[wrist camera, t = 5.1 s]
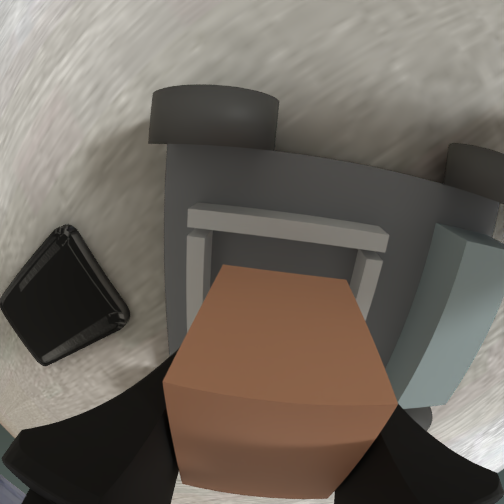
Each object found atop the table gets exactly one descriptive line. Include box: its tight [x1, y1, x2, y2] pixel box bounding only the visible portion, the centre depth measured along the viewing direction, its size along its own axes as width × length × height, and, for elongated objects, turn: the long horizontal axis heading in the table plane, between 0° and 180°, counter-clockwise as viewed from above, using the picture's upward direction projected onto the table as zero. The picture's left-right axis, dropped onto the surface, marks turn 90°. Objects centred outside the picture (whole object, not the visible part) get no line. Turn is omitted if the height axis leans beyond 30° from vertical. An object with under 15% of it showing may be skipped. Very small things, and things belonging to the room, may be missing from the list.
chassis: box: [148, 85, 504, 431], centre depth 13 cm, size 18×18×5 cm
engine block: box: [163, 264, 398, 499], centre depth 8 cm, size 4×5×6 cm
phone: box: [0, 225, 130, 366], centre depth 18 cm, size 8×1×15 cm
